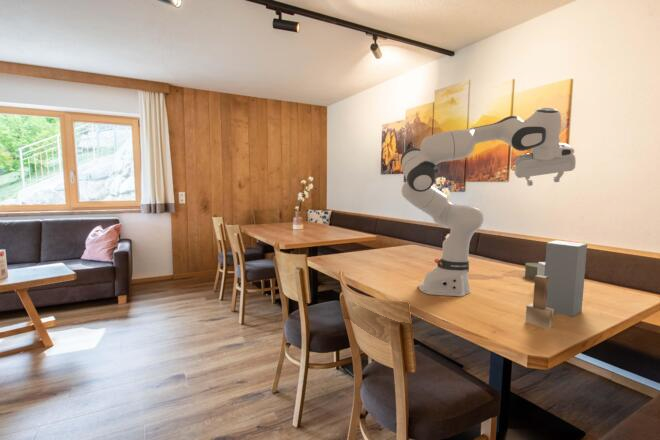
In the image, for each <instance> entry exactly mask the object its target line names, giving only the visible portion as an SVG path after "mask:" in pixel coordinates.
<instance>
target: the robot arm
mask: <svg viewBox="0 0 660 440" xmlns="http://www.w3.org/2000/svg"><path fill="white" fill-rule="evenodd" d="M561 131H562V116H561V112H560V111H559V110H558V109H555V108H552V107H542V108H538V109H536V110H535V112H534V113H533V114H531V116H529V117H528V118H526V119H525V120H524V119H522V118H521V117H520V116H517V115H509V116H506V117H504V118H503V119H502V118H501V119H500V120H499V121H496V122H494V123H489V124H484V125H480V126H476V127H470V128H466V129H465V128H464V129H458V130H449V131H443V132H439V133H435V134H432V135H430V136H425V138H423V140H422V141H421V144H420V147H419V148H417V147H409V148H407V149H406V150H405V151H404V152H403V153H402V155H401V157H400V165H401V169H402V172H403V173H402V174H403V175H404V178H405V180H406V181H405V182H404V183H403V185H402V187H401V195H402V197H404V199H405V200H406V201H408V202H409V203H410V204H411V205H412V206H413V207H415V208H416V209H418V210H421V212H424V213H425V214H426V215H428V216H429V217H431V218H432V219H433V222H434V223H435V224H436V225H439V226H440V227H442V228H445V229H446V228H447V229H450V232H449V235H448V237H447V238H445V239H444V240H443V241H442V250H441V251H442V252H441V258H440V259H438V258H434V260H433V262H434V263H435V264H437V266H436V267H435V268H433V269H432V270H430V271H429V272H427V273H426V274H425V276H424V278H423V283H419V285H418V290H420V291H421V292H422V293H424V294H426V295H431V296H432V295H433V296H434V295H435V296H447V297H449V296H451V297H465V296H466V295H468V294H470V293H471V291H472V290H471V288H470V282H469V270H470V269H469V268H470V261H469V251H470V250H469V249H470V242H471V240H472V237H473V235H474V234H475V232H476V231H477V230H478V229H480V228H481V227H482V225H483V223H484V213H483V212H482V211H481V209H479V208H478V207H474V206H471V205H465V204H456V203H452V202H450V201H449V199H448V196H447V194H445V193H444V192H442V191H440V189H438V188H437V187H435V186H433V185H434V183H435V182H436V181H435V180H436V175H437V172H438V170H439V167H438V166H437V165H438V164H440V163H443V162H444V163H445V162H451V161H457V160H462V159H465V158H467V157H469V156H470V155H471V154H472V153H473V151H474V150H475V146H476V145H477V144H480V143H484V142H489V141H494V140H499V141H502V142H504V143H506V144H507V145H508V146H510V147H511V148H512V149H514V150H517V151H521V152H523V151H524V152H525V151H528V150H531V152H530V153H526V154H525V153H524V154H519V155H518V156H516V157H515V158H514V175H515V176H516V177H517V178H518V179H521V178H524V179H525V180H526V181H527V182H526V183H527V184H526V186H528V187H531V186H533V183H534V182H533V180H532V179H531V177H535V176H536V177H537V176H541V175H550V174H556V176H553V182H554V183H559V182H560V179H561V177H563V175H564V173H565V172H571V171H574V170H575V168H576V156H575V149H574V148H573V147H572V146H571V145H569V144H568V143H564V142H561V141H560V135H561Z"/></svg>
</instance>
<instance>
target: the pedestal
mask: <svg viewBox="0 0 660 440" xmlns="http://www.w3.org/2000/svg"><path fill="white" fill-rule="evenodd" d="M587 251H588V243H585V242H575V241H567V240H565V241H564V240H557V239H556V240H552V241H547V242H546V250H545V261H544V262H545V273H544V276H548V289H547V303H546V307H548V308H552V309H554V314H555V313H556V314H560V315H563V316H566V317H571V318H574V317H575V316H577V315H578V314H580V313H581V312H582V310H583V300H584V299H583V298H584V287H585V275H586V264H587V263H586V262H587Z"/></svg>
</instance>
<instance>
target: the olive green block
mask: <svg viewBox="0 0 660 440" xmlns="http://www.w3.org/2000/svg"><path fill="white" fill-rule="evenodd" d="M524 264H525V270H524V277H525V278H526V279H528V278H529V280H532V279H533V280H532V281H535V276H536V275H537V268H538V262H526V263H524Z"/></svg>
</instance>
